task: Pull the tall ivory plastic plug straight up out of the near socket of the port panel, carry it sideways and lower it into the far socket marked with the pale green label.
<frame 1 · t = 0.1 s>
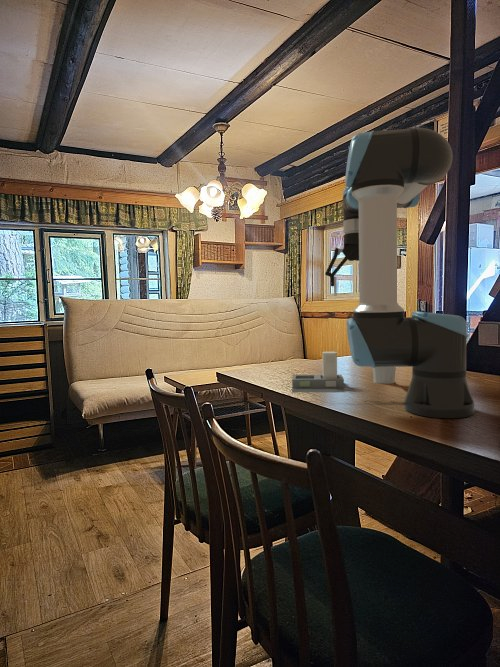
hand: (355, 295, 151), 28 cm above the table, fingers open, 13 cm apart
plug: (330, 385, 132), point 1 cm above the table, touching panel
cup: (384, 385, 135), on the table
panel: (317, 388, 132), on the table
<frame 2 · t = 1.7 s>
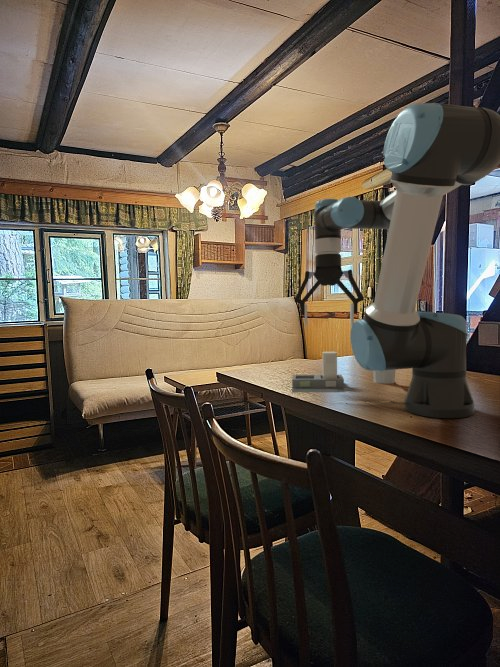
hand: (328, 325, 130), 19 cm above the table, fingers open, 13 cm apart
nothing on the table moved.
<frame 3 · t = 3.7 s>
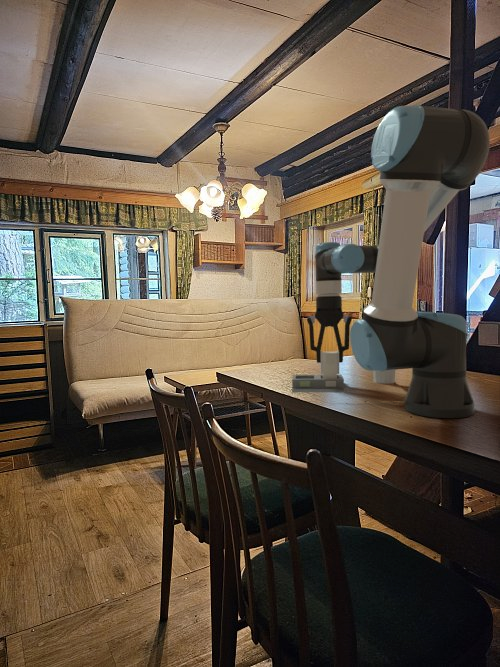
hand: (329, 373, 131), 5 cm above the table, fingers closed on plug, 4 cm apart
plug: (330, 385, 132), point 1 cm above the table, touching gripper, panel
everything else where it was.
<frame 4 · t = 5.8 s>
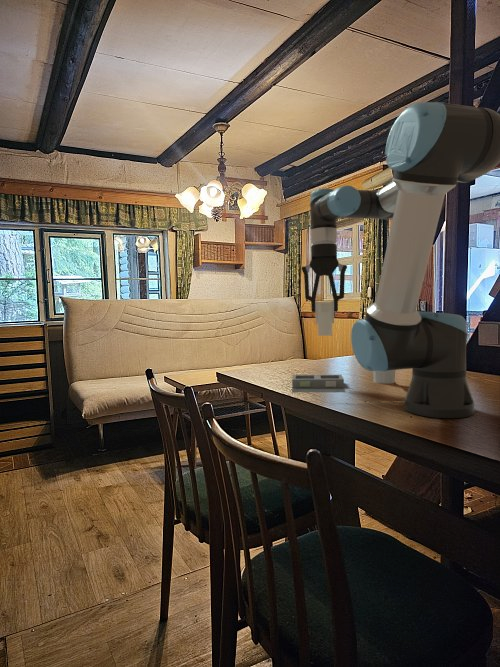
hand: (324, 322, 131), 20 cm above the table, fingers closed on plug, 4 cm apart
plug: (324, 335, 131), point 16 cm above the table, touching gripper
everything else where it was.
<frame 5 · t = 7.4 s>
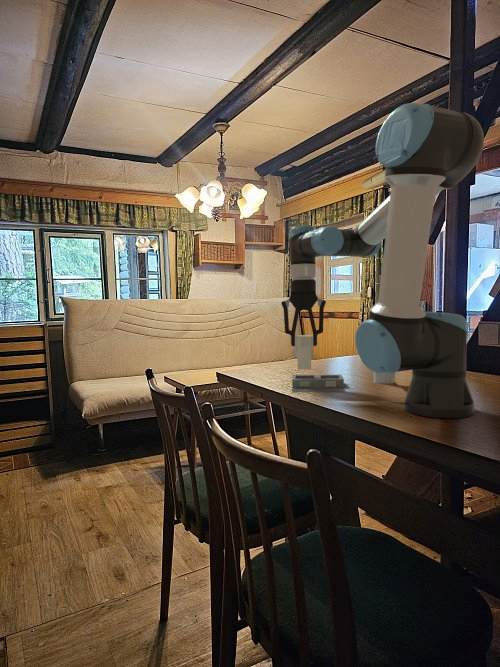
hand: (304, 356, 132), 10 cm above the table, fingers closed on plug, 4 cm apart
plug: (304, 368, 132), point 6 cm above the table, touching gripper
everything else where it was.
when the fingers open (6 cm above the table, at t = 8.3 s): plug drops 1 cm, resting on panel.
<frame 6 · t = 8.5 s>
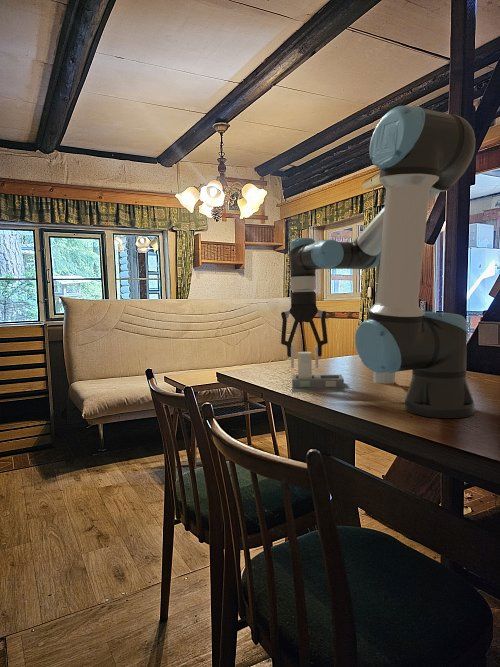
hand: (304, 367, 132), 6 cm above the table, fingers open, 7 cm apart
plug: (305, 385, 132), point 1 cm above the table, touching panel
everything else where it was.
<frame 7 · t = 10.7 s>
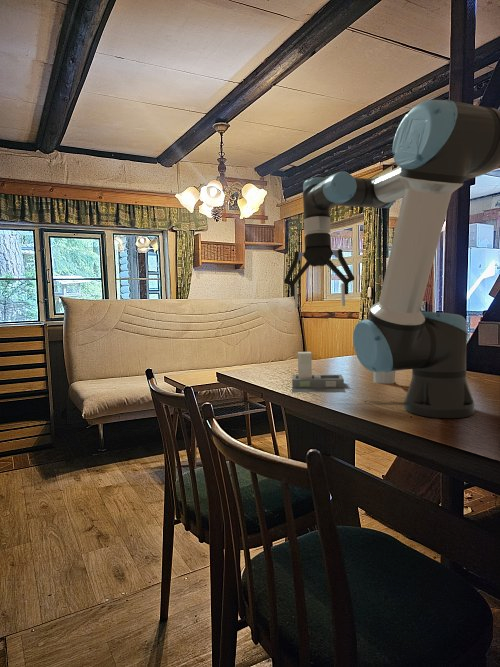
hand: (319, 307, 128), 25 cm above the table, fingers open, 13 cm apart
nothing on the table moved.
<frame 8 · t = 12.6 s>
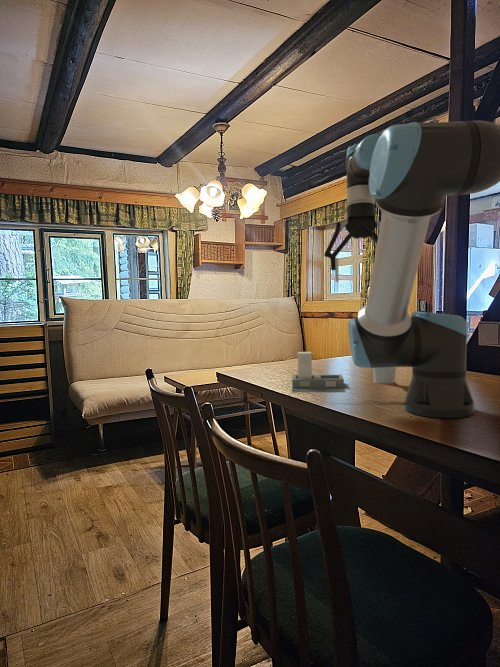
hand: (361, 281, 122), 32 cm above the table, fingers open, 13 cm apart
nothing on the table moved.
at the end: plug 0.0 cm from the target spot on the panel, point 1.0 cm above the panel's base; plug tilted 0°; the gripper is holding nothing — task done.
